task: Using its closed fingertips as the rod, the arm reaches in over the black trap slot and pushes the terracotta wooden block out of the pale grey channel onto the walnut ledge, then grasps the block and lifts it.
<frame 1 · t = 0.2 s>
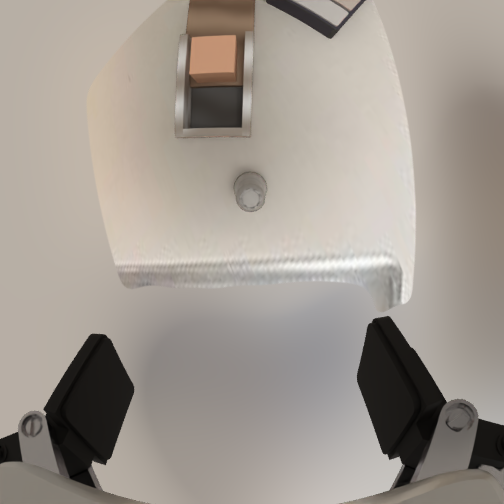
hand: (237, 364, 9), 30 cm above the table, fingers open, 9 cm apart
rook chess piece: (250, 187, 37), on the table
block: (217, 65, 28), point 1 cm above the table, touching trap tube
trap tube: (219, 61, 29), on the table
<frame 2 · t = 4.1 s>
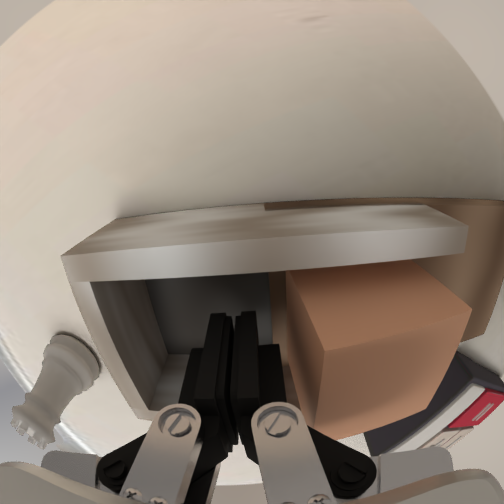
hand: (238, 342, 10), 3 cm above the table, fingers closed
rook chess piece: (77, 353, 16), on the table
block: (341, 307, 11), point 2 cm above the table, touching gripper, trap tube
calculator: (441, 400, 19), on the table
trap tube: (348, 287, 13), on the table
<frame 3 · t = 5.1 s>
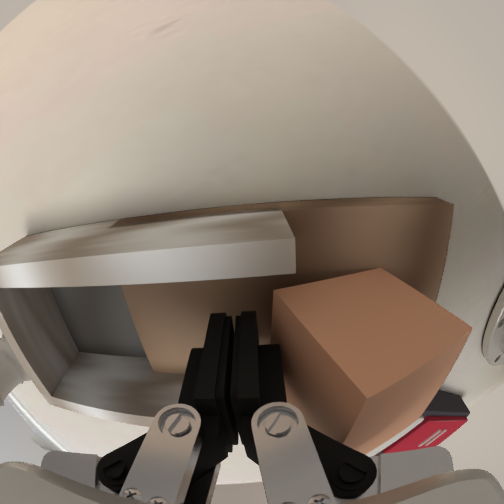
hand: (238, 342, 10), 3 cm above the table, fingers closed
rook chess piece: (23, 348, 15), on the table
block: (325, 330, 11), point 2 cm above the table, tilted 19°, touching gripper
calculator: (385, 420, 19), on the table
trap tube: (219, 301, 13), on the table
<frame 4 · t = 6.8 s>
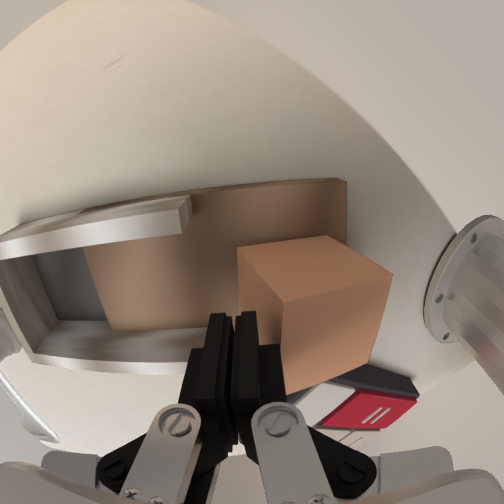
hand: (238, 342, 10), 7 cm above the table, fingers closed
rook chess piece: (13, 325, 18), on the table
block: (283, 284, 14), point 2 cm above the table, tilted 16°, touching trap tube
calculator: (329, 396, 23), on the table
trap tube: (158, 269, 16), on the table
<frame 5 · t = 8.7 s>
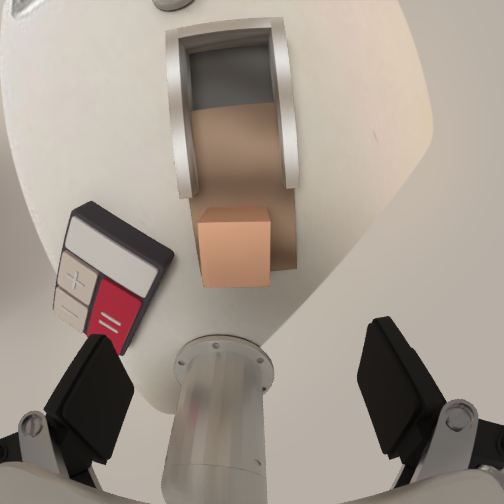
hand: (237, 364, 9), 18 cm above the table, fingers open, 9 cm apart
block: (237, 234, 24), point 1 cm above the table, touching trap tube
calculator: (110, 278, 28), on the table
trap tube: (237, 151, 23), on the table
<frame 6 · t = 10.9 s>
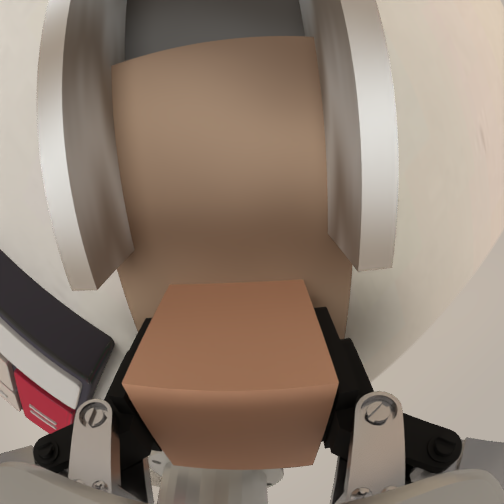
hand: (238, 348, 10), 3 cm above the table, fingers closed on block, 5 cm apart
block: (239, 335, 11), point 2 cm above the table, touching gripper, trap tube
calculator: (39, 350, 15), on the table
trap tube: (221, 152, 10), on the table
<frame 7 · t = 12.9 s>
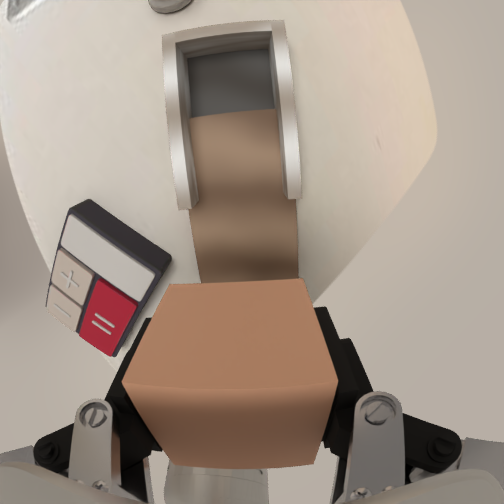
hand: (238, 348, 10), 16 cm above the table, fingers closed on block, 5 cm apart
block: (239, 335, 11), point 15 cm above the table, touching gripper
calculator: (105, 278, 27), on the table
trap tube: (237, 159, 22), on the table
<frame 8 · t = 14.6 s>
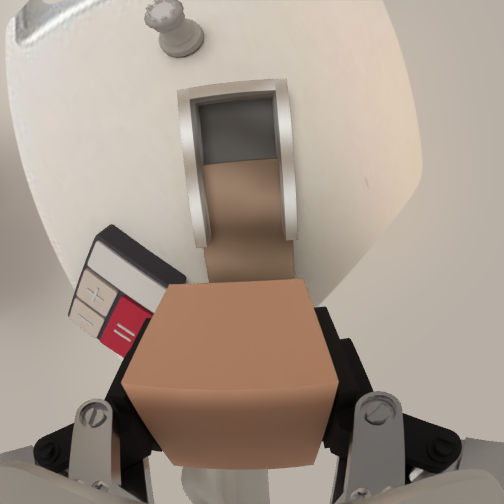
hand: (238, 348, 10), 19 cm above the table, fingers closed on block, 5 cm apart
rook chess piece: (183, 40, 21), on the table
block: (239, 335, 11), point 18 cm above the table, touching gripper
calculator: (124, 292, 32), on the table
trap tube: (244, 199, 27), on the table
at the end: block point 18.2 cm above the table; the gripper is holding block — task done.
